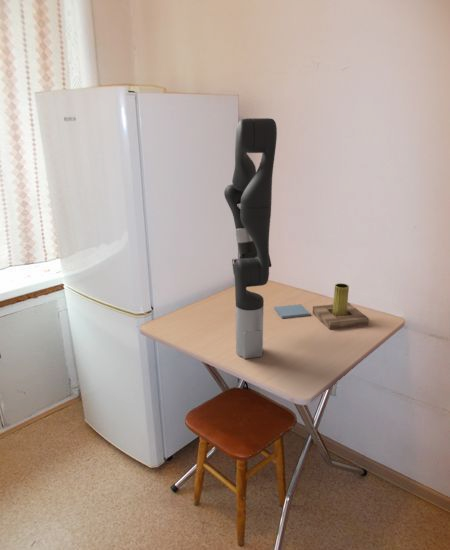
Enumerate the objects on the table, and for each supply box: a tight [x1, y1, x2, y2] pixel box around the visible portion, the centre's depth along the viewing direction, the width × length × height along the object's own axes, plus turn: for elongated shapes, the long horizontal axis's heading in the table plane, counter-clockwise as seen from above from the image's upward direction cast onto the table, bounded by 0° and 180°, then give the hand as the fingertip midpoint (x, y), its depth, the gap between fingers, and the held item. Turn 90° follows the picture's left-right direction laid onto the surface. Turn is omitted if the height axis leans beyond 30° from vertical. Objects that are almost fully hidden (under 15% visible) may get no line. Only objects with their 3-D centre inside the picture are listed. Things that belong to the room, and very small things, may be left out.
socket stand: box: [312, 302, 370, 331], centre depth 169 cm, size 16×16×3 cm
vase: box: [332, 282, 350, 317], centre depth 167 cm, size 6×6×14 cm
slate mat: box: [273, 303, 311, 319], centre depth 176 cm, size 10×12×1 cm
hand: (254, 282), depth 155 cm, fingers open, 8 cm apart
